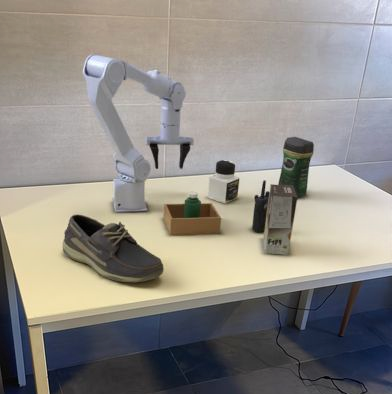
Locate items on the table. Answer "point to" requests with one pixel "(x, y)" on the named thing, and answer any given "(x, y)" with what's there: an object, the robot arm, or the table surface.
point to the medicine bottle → (224, 182)
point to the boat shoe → (109, 250)
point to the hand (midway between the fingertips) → (168, 167)
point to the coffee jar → (296, 164)
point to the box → (191, 220)
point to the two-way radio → (260, 210)
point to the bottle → (192, 206)
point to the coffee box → (279, 219)
